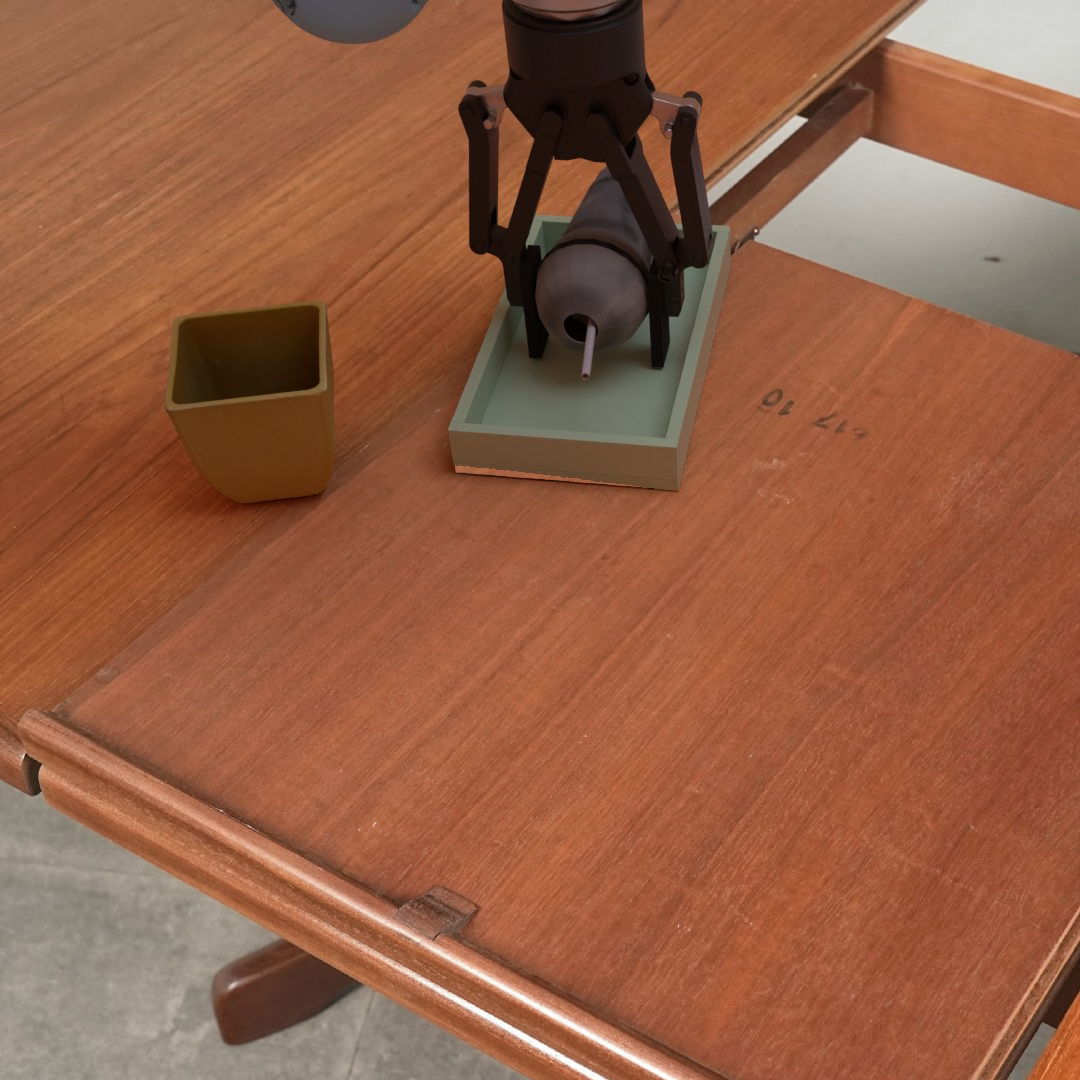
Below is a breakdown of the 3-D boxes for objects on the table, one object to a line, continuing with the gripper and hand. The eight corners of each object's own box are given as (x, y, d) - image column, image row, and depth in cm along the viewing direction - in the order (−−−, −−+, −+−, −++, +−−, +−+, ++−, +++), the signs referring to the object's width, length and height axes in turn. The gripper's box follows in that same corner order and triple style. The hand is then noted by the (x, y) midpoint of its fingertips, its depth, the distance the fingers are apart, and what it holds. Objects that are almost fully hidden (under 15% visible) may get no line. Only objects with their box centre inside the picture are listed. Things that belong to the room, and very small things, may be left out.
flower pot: (357, 514, 91) (326, 389, 84) (205, 533, 90) (162, 408, 83) (354, 421, 96) (325, 298, 90) (212, 438, 96) (172, 315, 89)
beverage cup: (572, 135, 100) (500, 312, 87) (683, 149, 100) (627, 329, 87) (573, 234, 106) (506, 415, 93) (678, 248, 105) (626, 431, 92)
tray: (678, 491, 91) (676, 447, 89) (454, 473, 93) (447, 429, 90) (730, 268, 107) (730, 225, 104) (538, 256, 108) (533, 213, 106)
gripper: (767, -33, 83) (762, 326, 100) (406, -48, 86) (461, 306, 103) (750, 31, 78) (748, 397, 95) (367, 13, 81) (432, 374, 98)
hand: (600, 349), depth 99 cm, fingers closed on beverage cup, 7 cm apart
